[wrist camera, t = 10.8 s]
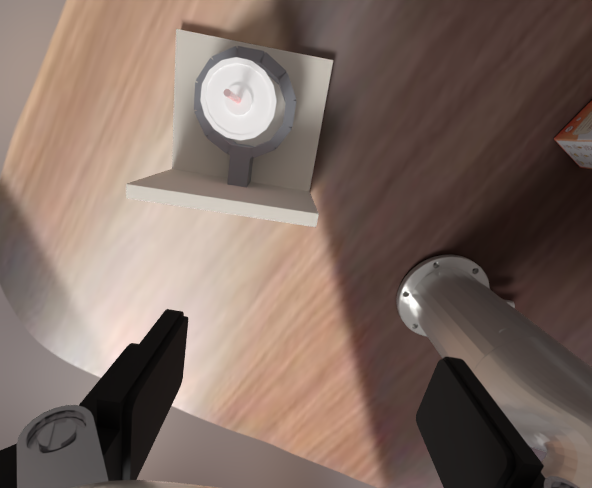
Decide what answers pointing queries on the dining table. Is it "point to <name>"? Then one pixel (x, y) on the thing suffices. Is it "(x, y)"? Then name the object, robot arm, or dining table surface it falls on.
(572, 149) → the cracker box
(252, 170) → the bracket
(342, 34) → the dining table surface
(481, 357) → the robot arm
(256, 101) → the beverage cup
